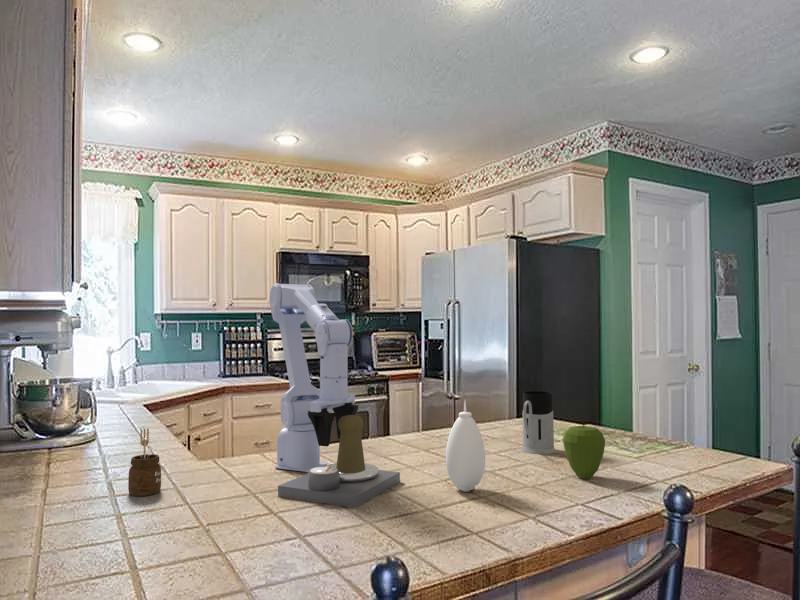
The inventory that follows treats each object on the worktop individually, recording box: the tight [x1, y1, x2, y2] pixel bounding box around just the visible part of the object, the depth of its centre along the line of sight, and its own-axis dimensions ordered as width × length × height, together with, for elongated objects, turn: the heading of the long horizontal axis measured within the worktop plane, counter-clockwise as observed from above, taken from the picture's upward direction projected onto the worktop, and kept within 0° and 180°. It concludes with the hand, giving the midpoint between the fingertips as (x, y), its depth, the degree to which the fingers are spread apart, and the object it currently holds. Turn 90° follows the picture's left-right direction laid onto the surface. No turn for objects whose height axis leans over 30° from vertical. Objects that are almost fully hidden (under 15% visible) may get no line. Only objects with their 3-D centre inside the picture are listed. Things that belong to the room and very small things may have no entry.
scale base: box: [277, 463, 401, 509], centre depth 117 cm, size 17×19×5 cm
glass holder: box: [520, 390, 556, 455], centre depth 150 cm, size 9×14×15 cm, turn 148°
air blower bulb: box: [445, 399, 486, 493], centre depth 116 cm, size 8×8×18 cm
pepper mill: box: [336, 414, 366, 473], centre depth 120 cm, size 6×6×11 cm
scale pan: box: [323, 462, 379, 482], centre depth 120 cm, size 12×12×1 cm
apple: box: [562, 424, 606, 480], centre depth 125 cm, size 9×8×12 cm
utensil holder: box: [127, 428, 162, 497], centre depth 115 cm, size 6×6×12 cm
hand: (333, 442), depth 122 cm, fingers open, 7 cm apart
